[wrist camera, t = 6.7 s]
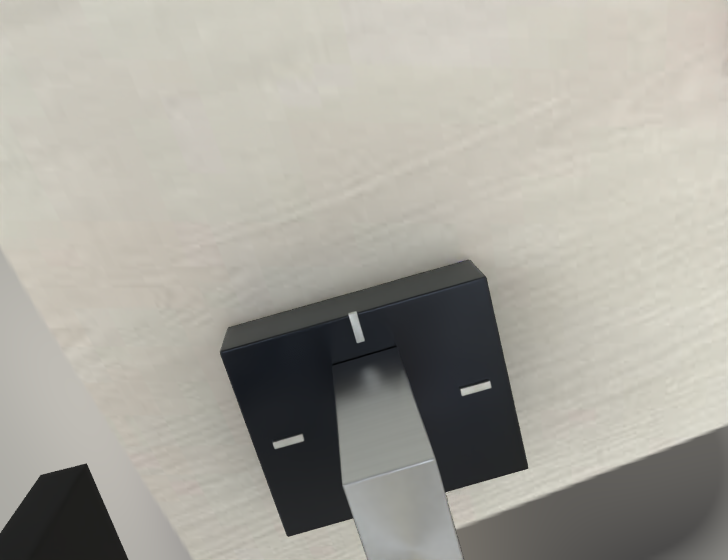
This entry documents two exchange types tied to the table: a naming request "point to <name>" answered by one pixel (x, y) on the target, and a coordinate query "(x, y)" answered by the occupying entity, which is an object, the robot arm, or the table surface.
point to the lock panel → (361, 338)
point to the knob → (390, 463)
